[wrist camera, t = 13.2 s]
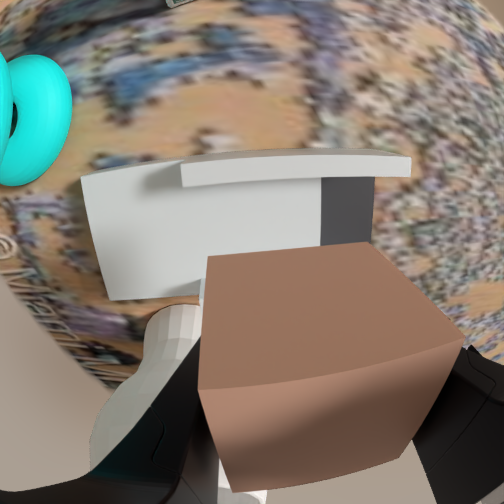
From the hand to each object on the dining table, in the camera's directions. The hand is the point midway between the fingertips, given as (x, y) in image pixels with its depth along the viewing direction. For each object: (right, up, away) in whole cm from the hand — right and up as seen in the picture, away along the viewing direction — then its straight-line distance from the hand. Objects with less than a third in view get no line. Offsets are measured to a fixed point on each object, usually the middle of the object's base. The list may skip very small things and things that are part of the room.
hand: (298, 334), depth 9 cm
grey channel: (-2, +5, +12) cm, 13 cm away
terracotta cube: (0, 0, +1) cm, 1 cm away
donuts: (-19, +13, +7) cm, 24 cm away
